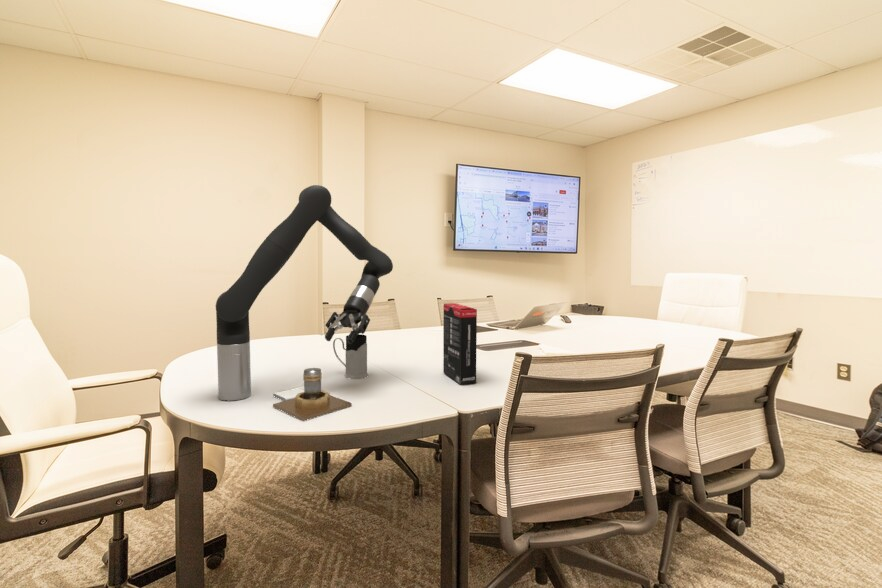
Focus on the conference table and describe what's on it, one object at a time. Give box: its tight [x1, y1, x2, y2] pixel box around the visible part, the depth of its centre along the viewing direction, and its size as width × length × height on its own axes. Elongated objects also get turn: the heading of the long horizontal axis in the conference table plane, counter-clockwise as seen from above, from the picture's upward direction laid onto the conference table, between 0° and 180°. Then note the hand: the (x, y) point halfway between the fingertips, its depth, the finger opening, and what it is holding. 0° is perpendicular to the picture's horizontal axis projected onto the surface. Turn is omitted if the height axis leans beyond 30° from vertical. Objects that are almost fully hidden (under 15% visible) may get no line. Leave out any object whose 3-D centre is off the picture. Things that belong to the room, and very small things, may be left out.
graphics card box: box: [442, 302, 478, 386], centre depth 158 cm, size 17×7×27 cm, turn 22°
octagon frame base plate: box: [272, 389, 353, 422], centre depth 127 cm, size 16×16×4 cm
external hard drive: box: [272, 386, 304, 401], centre depth 138 cm, size 2×8×12 cm
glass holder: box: [332, 333, 369, 380], centre depth 161 cm, size 9×14×15 cm, turn 71°
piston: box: [303, 367, 322, 399], centre depth 127 cm, size 5×5×10 cm
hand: (337, 341), depth 136 cm, fingers open, 8 cm apart
